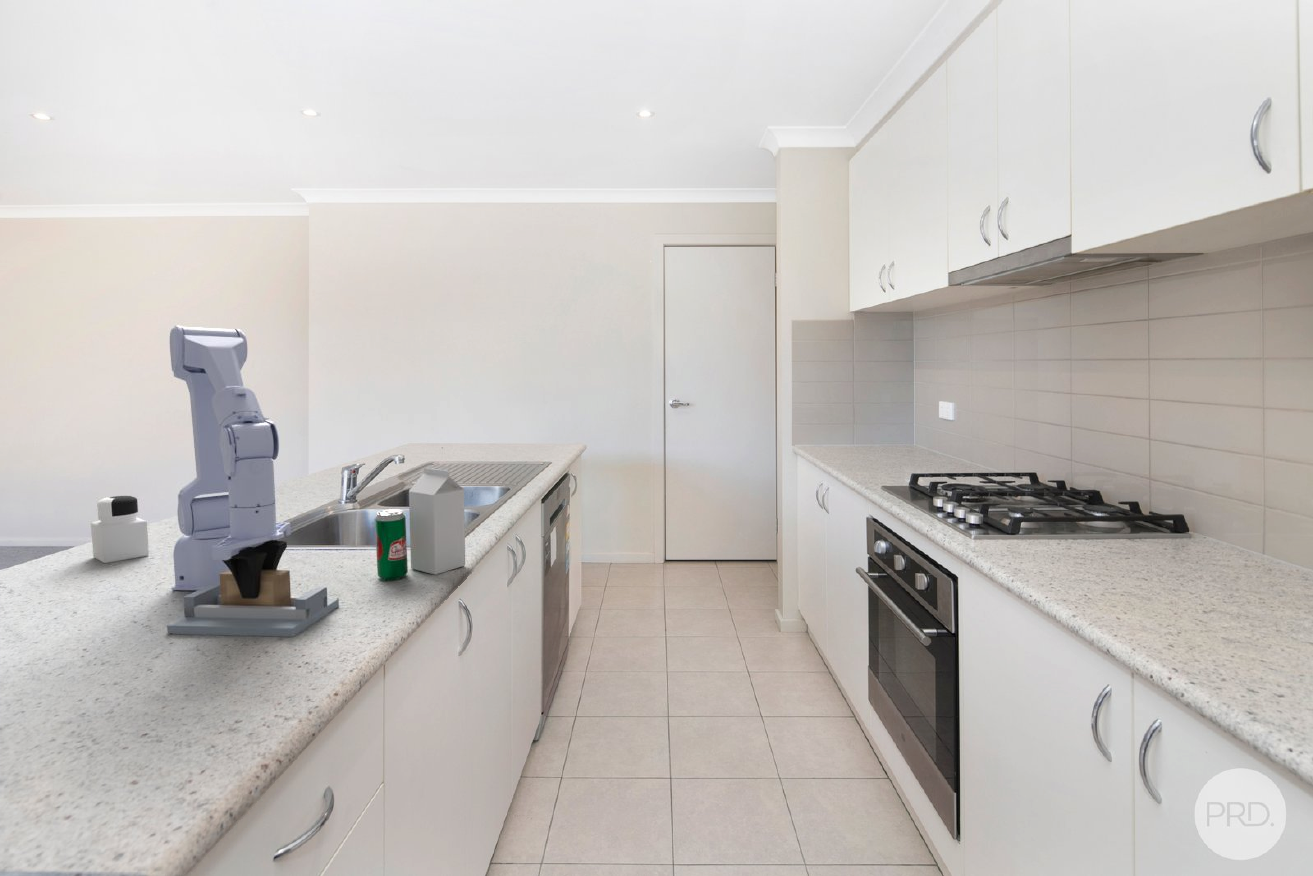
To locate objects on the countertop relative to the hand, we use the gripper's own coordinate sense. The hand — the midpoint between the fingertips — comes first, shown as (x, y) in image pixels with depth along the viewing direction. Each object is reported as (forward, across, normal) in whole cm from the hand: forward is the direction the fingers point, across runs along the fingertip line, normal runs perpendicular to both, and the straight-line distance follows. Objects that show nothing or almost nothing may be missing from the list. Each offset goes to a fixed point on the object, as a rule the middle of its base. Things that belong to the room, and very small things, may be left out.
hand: (257, 594), depth 94 cm
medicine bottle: (+4, +30, +48) cm, 57 cm away
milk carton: (+4, +27, -17) cm, 32 cm away
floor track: (+4, 0, 0) cm, 4 cm away
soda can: (+4, +21, -11) cm, 24 cm away
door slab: (+3, 0, 0) cm, 3 cm away
